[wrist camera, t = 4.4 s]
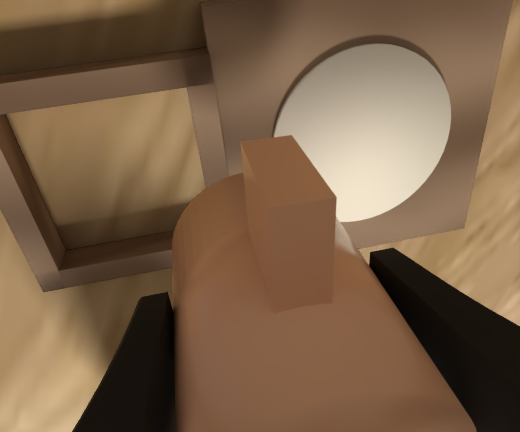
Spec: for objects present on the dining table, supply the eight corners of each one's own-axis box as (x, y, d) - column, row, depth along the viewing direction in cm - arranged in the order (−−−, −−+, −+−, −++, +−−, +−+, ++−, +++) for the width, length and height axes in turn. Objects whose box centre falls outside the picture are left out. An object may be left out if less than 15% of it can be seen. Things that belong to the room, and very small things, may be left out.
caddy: (-63, 36, 14) (-86, 43, 13) (502, -35, 16) (529, -35, 15) (62, 294, 20) (55, 315, 19) (453, 218, 23) (469, 233, 21)
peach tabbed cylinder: (186, 318, 14) (201, 589, 8) (140, 110, 10) (100, 330, 4) (331, 291, 14) (447, 522, 8) (340, 87, 10) (562, 246, 5)
